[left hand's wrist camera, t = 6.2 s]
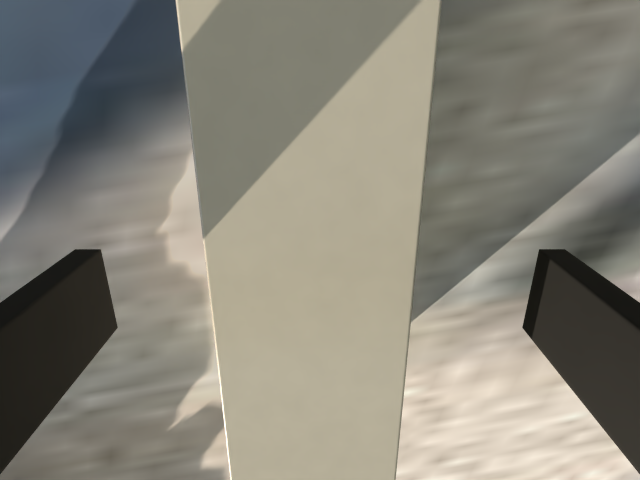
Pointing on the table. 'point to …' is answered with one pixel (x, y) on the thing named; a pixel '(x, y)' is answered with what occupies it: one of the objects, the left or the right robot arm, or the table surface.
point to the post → (310, 221)
